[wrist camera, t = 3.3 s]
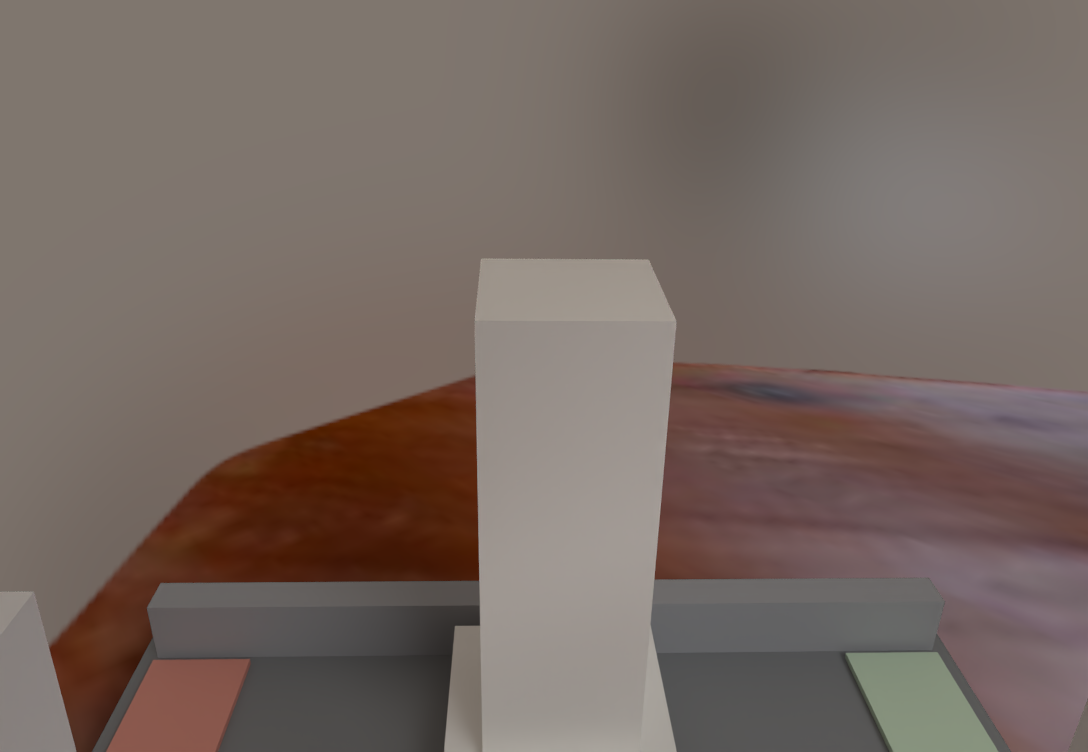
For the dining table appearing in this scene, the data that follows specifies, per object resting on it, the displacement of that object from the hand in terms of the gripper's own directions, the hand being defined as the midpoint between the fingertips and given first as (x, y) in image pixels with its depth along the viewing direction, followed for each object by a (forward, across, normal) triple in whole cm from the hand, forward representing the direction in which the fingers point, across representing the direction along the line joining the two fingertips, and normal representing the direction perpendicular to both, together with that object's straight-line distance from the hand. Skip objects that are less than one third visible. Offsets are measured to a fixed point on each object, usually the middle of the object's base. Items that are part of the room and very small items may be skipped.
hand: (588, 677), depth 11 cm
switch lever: (+10, 0, -12) cm, 15 cm away
